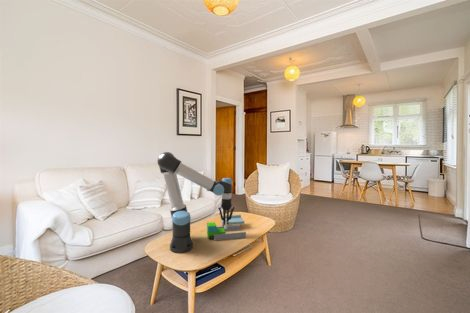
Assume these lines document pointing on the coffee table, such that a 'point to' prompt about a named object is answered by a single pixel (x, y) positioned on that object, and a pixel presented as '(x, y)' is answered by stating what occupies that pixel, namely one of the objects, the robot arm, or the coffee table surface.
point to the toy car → (213, 230)
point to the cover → (234, 220)
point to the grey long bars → (230, 235)
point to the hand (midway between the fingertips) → (225, 228)
